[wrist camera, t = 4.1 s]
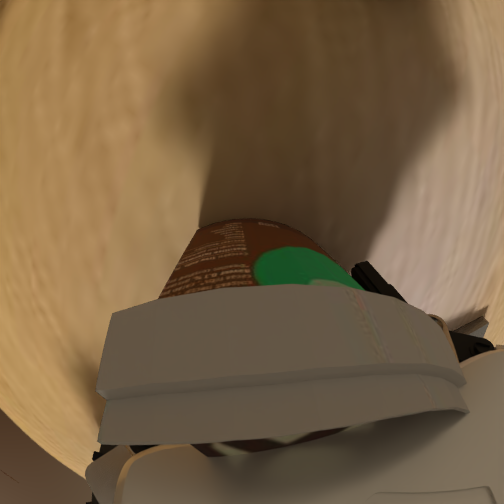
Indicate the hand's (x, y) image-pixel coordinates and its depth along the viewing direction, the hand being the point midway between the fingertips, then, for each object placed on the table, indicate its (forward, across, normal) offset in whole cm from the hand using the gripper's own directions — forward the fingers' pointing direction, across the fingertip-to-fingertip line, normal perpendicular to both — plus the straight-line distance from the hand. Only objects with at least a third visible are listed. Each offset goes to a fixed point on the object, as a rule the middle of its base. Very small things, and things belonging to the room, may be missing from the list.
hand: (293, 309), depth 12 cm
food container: (+2, -1, 0) cm, 2 cm away
